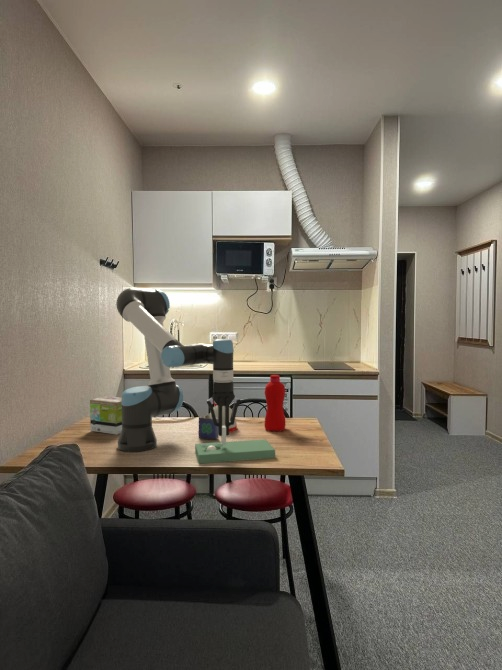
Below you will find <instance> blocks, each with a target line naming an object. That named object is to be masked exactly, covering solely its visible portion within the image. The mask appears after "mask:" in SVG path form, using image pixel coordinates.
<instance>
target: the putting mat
mask: <svg viewBox="0 0 502 670" xmlns="http://www.w3.org/2000/svg"><path fill="white" fill-rule="evenodd" d="M211 445H212V446H215V447H216V449H217V450H213V451H210V450H206V449H207V447H208V446H211ZM194 450H195V451H194V452H195V455H196V458H197V462H198V464H211V463H223V462H236V461H249V460H250V461H251V460H265V459H276V449H275V448H274V446H272V444H271V443H270V442H269V441H268V440H267V439H265V438H263V439H252V440H251V439H250V440H249V439H248V440H236V441H234V440H232V441H226V445H222V443H221V441H220V442H219V441H218V442H206V443H205V442H204V443H195V444H194Z"/></svg>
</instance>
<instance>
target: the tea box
mask: <svg viewBox="0 0 502 670" xmlns="http://www.w3.org/2000/svg"><path fill="white" fill-rule="evenodd" d="M121 401H122V397H116V396H106V395H104V396H100V397H97V398H93V399H90V400H89V413H90V415H89V417H90V419H89V420H90V432H98V433H104V434H111V435H116V436H117V435H120V433H121V430H122V404H121Z"/></svg>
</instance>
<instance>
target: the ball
mask: <svg viewBox="0 0 502 670" xmlns="http://www.w3.org/2000/svg"><path fill="white" fill-rule="evenodd" d="M206 450H210V451H213V450H217V449H216V447H215V446H212V445H211V446H208V447H207V449H206Z"/></svg>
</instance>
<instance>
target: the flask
mask: <svg viewBox="0 0 502 670" xmlns="http://www.w3.org/2000/svg"><path fill="white" fill-rule="evenodd" d="M209 415H210V413H206V415H202V416H199V417H198V439H200V440H201V439H202V440H211V441H214V440H215V441H218V440H219V434H218V426H215V425H214V423H213V420H212V418H210V416H209ZM216 420H217V422H218V418H216Z"/></svg>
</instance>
